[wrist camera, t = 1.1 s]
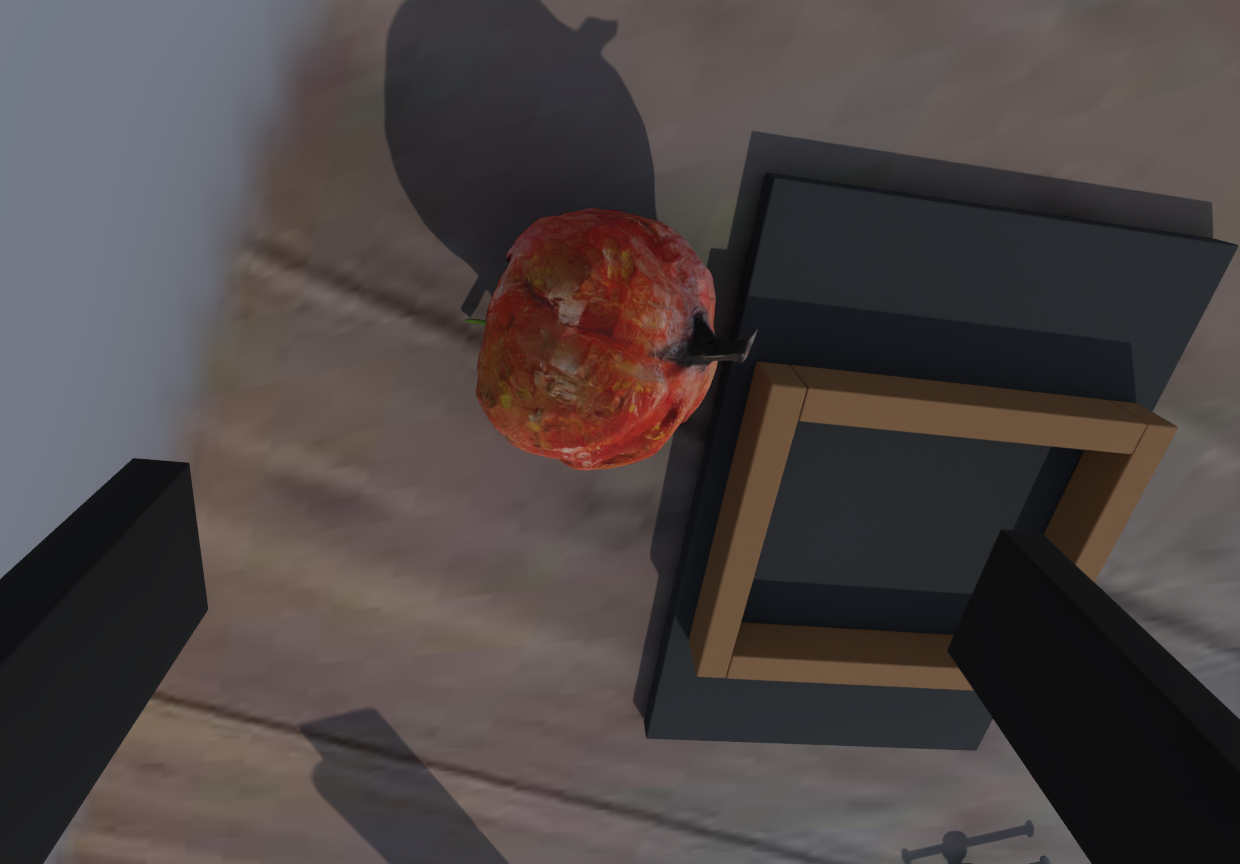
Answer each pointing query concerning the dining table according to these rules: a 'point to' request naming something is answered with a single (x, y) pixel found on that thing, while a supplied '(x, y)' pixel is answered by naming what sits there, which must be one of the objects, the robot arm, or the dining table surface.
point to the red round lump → (599, 339)
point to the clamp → (1044, 860)
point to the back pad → (909, 451)
